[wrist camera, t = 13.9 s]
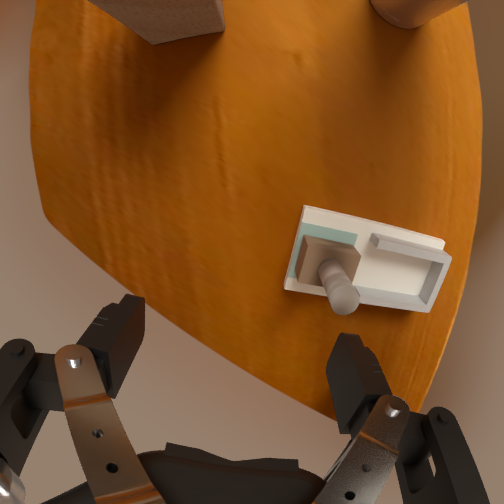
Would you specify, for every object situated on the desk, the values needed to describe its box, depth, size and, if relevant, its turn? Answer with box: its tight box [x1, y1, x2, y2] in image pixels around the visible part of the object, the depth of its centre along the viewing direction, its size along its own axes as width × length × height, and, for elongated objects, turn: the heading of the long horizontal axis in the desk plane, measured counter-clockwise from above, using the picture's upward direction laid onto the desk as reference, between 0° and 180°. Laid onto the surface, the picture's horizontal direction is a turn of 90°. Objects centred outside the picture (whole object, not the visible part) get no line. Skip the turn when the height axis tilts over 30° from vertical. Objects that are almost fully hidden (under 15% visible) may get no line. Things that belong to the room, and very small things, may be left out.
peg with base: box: [295, 235, 361, 315], centre depth 36 cm, size 7×5×12 cm
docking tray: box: [283, 205, 452, 313], centre depth 41 cm, size 23×12×4 cm, turn 79°
